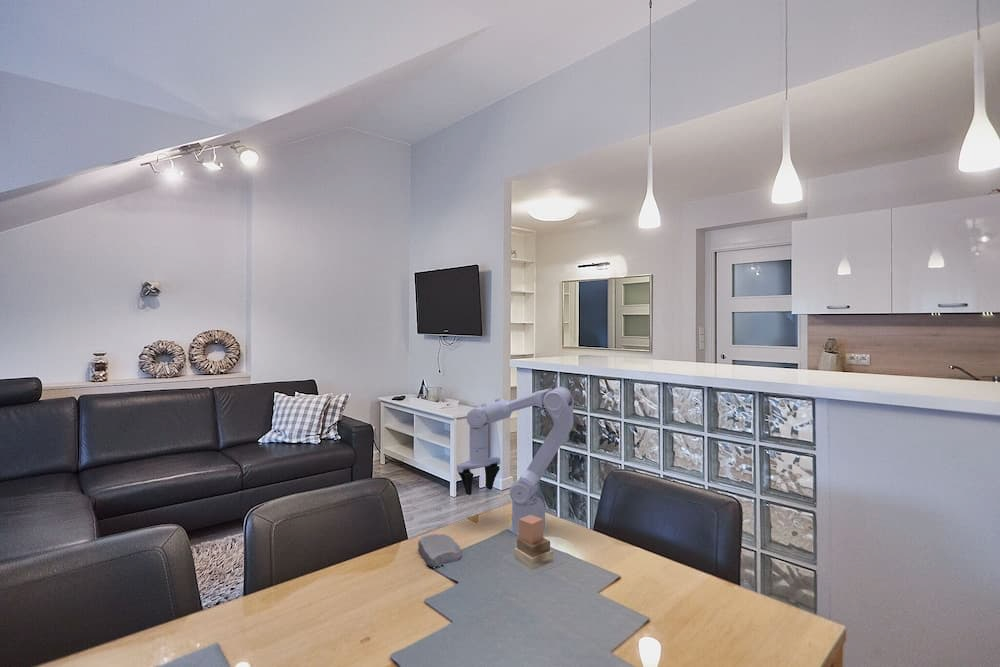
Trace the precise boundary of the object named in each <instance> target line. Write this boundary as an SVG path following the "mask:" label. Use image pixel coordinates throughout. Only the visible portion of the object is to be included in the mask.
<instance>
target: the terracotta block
mask: <svg viewBox="0 0 1000 667" xmlns="http://www.w3.org/2000/svg"><path fill="white" fill-rule="evenodd" d="M518 538H519V539H521V540H524V541H526V542H529V543H531V544H533V543H535V542H537V541H539V540H541V539H543V538H544V530H543V519H541V518H539V517H536V516H533V515H528V516H526V517H523V518H521V519H519V535H518Z"/></svg>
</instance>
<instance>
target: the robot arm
mask: <svg viewBox="0 0 1000 667" xmlns="http://www.w3.org/2000/svg"><path fill="white" fill-rule="evenodd" d="M574 404H575V400H574V398H573V395H572V393H571V391H570V390H569V389H568V388H567V387H565V386H557V387H555V388H554V389H553V388H546V389H542V390H541V389H540V390H538V391H535V392H532V393H528V394H526V395H524V396H521V397H519V398H516V399H515V398H514V399H513V400H507V399H506V398H502V399H501V398H500V397H498V398H496V399H494V401H493V402H492V401H491V402H489V403H487V404H486V403H481V405H480V406H478V407H475V408H473V409H470V410H469V412H468V413H467V415H466V422H467V424H468V426H469V460H468V461H464V462H461V463H458V464H456V472H457V473H458V475H459V477H460V479H461V480H462V484H463V487H464V488H463V489H464V492H465V494H466V495H468V496H471V495H472V490H473V489H472V487H473V486H472V484H473V477H474V476H475V474H474V473H473V472H471V470H475V469H480V468H484V471H485V472H484V473H485V477H486V478H485V485H486V489H487V490H489V491H492V490H493V489H494V488H493V487H494V483H495V480H496V478H497V475H498V473H499V472H500V465H501V457H497V456H494V457H489V424H493V423H496V422H499V421H501V420H506V419H509V418H510V417H511V416H512V413H513V412H515V411H516V412H517V411H519V410H523V409H526V408H529V407H533V406H535V407H538V408H540V409H544V408H545V411H547V413H548V414H549V415H550V417H551V420H552V421H553V422H552V423H553V426H552V428H551V429H550V431H549V433H548V434H547V436H546V438H545V439H544V441H543V442H542V444H541V446H539V449H538V451H537V452H536V454H535V456H534V457H533V458H532V460H531V462H530V464H529V465H528V467H527V468H526V470H525V471H524V472H523V474H521V476H520V477H519V479H518V480H516V482H514V483H513V484H512V485H511V486H510V488H509V497H510V498H511V500H512V502H511V503H512V504H511V505H512V507H511V512H512V513H511V514H512V515H511V517H512V518H511V520H512V521H511V525H510V526H506V527H505V528H506V529H507V530H509V531H511V532H512V533H514V534H515V535H517V536H519V519H521V518H523V517H526V516H528V515H533V516H536V517H539V518H541V519H543V531H546V530H547V529H548V528H547V527H546V506H545V503H544V501H543V500H542V499H541V497H539V496H537V495H536V493H537V491H538V490H539V488H540V487H539V485H540V481H541V479H542V478H543V474H545V471H546V470H547V468H548V467H549V465H550V463H551V462H552V460H553V459H554V457H555V455H556V454H557V452H558V451H559V449H560V448H561V446H562V445H563V443H564V442H565V440H566V438H567V436H568V435H569V433H570V432H571V430H572V428H573V426H574Z"/></svg>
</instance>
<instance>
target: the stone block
mask: <svg viewBox="0 0 1000 667" xmlns="http://www.w3.org/2000/svg"><path fill="white" fill-rule="evenodd" d="M417 545H418V547H417V551H418V552H419V554H420V556H421V557H422V559H424V561H425V562H426V564H427V566H428V565H429V568H432V567H436V568H438V567H437V566H439V565H441V564H443V565H444V564H445V563H446V564H447V563H452V562H457V561H459V560H460V558H461V557H462V556H461V555H462V548H461V547H460V545H459V544H458V543H457V542H456V541H455V540H454V539H453V538H452V537H451V536H450V535H447V534H445V533H444V534H437V533H435V534H428V535H425V536H422V537H421V538H419V539H418V543H417Z"/></svg>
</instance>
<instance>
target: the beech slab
mask: <svg viewBox="0 0 1000 667" xmlns="http://www.w3.org/2000/svg"><path fill="white" fill-rule="evenodd" d="M513 550H514V552H513V553H514V558H515V559H517V560H518V561H520V562H522V563H523V564H525V565H526V566H528V567H530V568H531V569H533V568H535V567H538V566H541V565H543V564H546V563H549V562H551V561H553V554H554V550H552V549H550V551H548V552H546V553H543V554H540V555H537V556H535V557H530V556H529V555H527V554H525V553H524V552H522V551H520V550H519V549H517V547H515V548H514V549H513Z"/></svg>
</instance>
